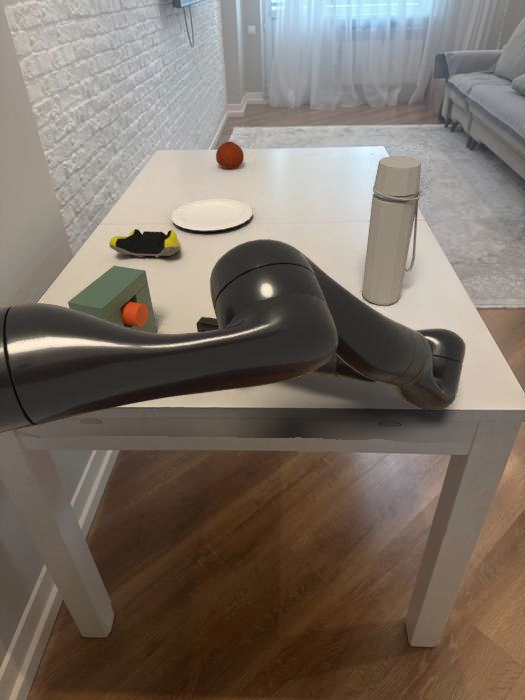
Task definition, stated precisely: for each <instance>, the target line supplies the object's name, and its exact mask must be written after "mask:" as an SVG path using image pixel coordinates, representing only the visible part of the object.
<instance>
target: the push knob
mask: <svg viewBox="0 0 525 700" xmlns="http://www.w3.org/2000/svg"><path fill="white" fill-rule="evenodd" d="M120 311H121V315H122V319H123V323H124V324H129V325H134V326H139V327H142V326H143V325H144V324H145V323H146V321H147V319H148V308H147V306H146V305H145V304H141V303H136V302H130V301H128V302H127V303H125V304H124V305H123V306H122V307H121V308H120Z"/></svg>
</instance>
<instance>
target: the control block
mask: <svg viewBox="0 0 525 700" xmlns="http://www.w3.org/2000/svg"><path fill="white" fill-rule="evenodd" d="M128 301H130V302H136V303H141V304H145V305H146V306H147V308H148V319H147V321H146V323H145V324H144V325H143V326H142V327H139V326H134V325H129V324H124V323H123V319H122V315H121V311H120V308H121V307H122V306H123V305H124V304H125V303H127V302H128ZM67 305H68V308H70V309H74V310H77V311H81V312H84V313H87V314H90V315H93V316H96V317H99V318H102V319H105V320H107V321H110V322H113V323H116V324H119V325H122V326H125V327H129V328H132V329H136V330H140V331H145V332H150V333H158V327H157V322H156V317H155V313H154V307H153V302H152V297H151V292H150V286H149V282H148V276H147V271H146V270H145V269H138V268H131V267H126V266H120V265H112V266H111V267H110V268H109V269H107V270H106V271H105V272H104V273H102V274H101V275H100V276H98V278H96V279H95V280H93V281H92V282H91V283H90V284H88V285H87V286H86V287H84V288H83V289H82V290H80V292H78V293H77V294H76V295H75V296H73V297H72V298H71V299H70V300H69V301H67Z"/></svg>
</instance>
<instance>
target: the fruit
mask: <svg viewBox="0 0 525 700" xmlns="http://www.w3.org/2000/svg"><path fill="white" fill-rule="evenodd" d="M216 150H217V151H216V153H215V160H216V162H217V163H218V165H219V166H221V167H222V168H224V169H228V170H229V169H230V170H231V169H236V168H238V167H240V166H241V165H242V164H243V162H244V158H245V157H244V151H243V149H242V147H241V146H240V145H239V144H237V143H235V142H234V141H225V142H223V143H222V144H220V145H219V147H218V148H217V149H216Z"/></svg>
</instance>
